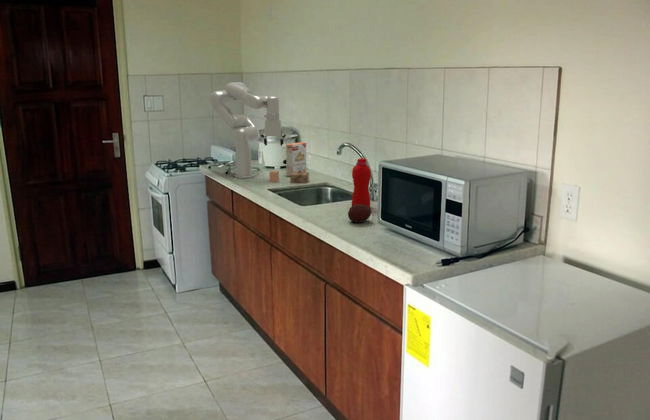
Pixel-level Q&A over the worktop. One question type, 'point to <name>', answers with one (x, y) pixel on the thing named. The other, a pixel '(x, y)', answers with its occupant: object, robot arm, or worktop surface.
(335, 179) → the worktop surface
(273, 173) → the terracotta block
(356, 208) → the potato
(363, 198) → the water bottle
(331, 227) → the worktop surface
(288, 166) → the cracker box
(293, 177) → the walnut base
